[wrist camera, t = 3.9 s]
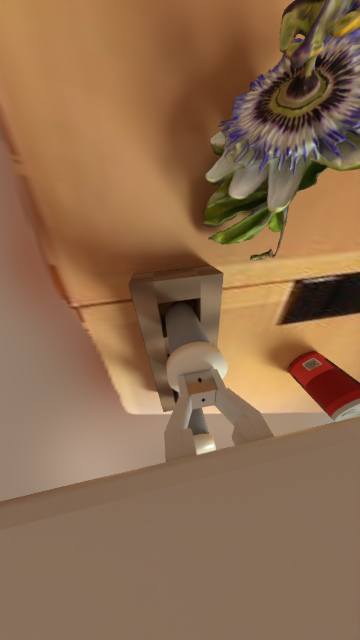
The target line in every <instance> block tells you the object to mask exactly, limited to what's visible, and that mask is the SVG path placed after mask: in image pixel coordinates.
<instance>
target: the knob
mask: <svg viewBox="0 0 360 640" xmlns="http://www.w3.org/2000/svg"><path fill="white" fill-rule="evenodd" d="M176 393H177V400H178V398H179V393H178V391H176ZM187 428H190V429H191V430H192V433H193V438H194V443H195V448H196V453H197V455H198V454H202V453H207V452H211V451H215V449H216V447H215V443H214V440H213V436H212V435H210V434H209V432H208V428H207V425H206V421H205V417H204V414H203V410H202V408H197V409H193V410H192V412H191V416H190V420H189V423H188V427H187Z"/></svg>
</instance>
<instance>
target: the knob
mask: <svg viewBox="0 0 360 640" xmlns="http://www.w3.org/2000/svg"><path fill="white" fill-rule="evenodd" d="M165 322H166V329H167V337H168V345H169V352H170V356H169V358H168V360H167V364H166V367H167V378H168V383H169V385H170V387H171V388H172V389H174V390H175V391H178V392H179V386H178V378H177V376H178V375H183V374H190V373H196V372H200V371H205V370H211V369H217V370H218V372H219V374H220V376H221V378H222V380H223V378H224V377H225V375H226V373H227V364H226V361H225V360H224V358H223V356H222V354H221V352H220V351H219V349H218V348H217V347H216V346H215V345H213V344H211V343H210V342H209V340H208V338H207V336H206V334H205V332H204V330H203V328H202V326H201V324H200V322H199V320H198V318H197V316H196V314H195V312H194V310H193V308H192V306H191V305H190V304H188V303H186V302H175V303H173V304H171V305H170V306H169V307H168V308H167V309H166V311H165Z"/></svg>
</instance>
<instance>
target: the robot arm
mask: <svg viewBox="0 0 360 640" xmlns="http://www.w3.org/2000/svg"><path fill="white" fill-rule="evenodd" d="M177 378H178V386H179V393H180V397H179V398H178V400H177V403H176V405H175V408H174V410H173V413H172V415H171V417H170V420H169V423H168V425H167V427H166V430H165V432H164V437H165V457H166V462H165V463H160V464H156V465H152V466H148V467H143V468H139V469H135V470H131V471H127V472H122V473H118V474H114V475H110V476H105V477H101V478H97V479H93V480H88V481H84V482H80V483H76V484H72V485H68V486H63V487H59V488H55V489H51V490H46V491H42V492H38V493H34V494H30V495H26V496H21V497H17V498H13V499H9V500H4V501H0V640H360V416H359V417H354V418H350V419H346V420H342V421H337V422H333V423H330V424H325V425H321V426H316V427H312V428H308V429H304V430H299V431H296V432H291V433H287V434H283V435H278V436H274V435H273V434H272V432H271V430H270V429H269V427H268V425H267V423H266V422H265V420H264V419H263V417H262V415H261V413H260V412H259V411H258V410H256V409H255V408H254V407H252V406H251V405H250V404H249V403H247V402H246V401H245V400H243V399H242V398H241V397H239V396H238V395H237V394H235V393H234V392H233V391H231V390H230V389H229V388H226V387H225V385H224V383H223V381H222V378H221V376H220V374H219V372H218V370H217V369H211V370H205V371H200V372H196V373H190V374H183V375H178V376H177ZM213 405H215V406H216V407H217V408H218V410H219V411H220V412H221V413H222V414H224V416H225V417H226V418H227V419H228V420H229V421H230V422H231V423H232V424H233V425H234V426H235V427H234V430H233V434H232V440H233V442H234V445H235V446H232V447H228V448H223V449H220V450H215V451H211V452H207V453H202V454H198V455H197V453H196V448H195V443H194V438H193V433H192V430H191V429H190V428H187V427H188V423H189V420H190V416H191V412H192V410H193V409H197V408H202V407H207V406H213Z"/></svg>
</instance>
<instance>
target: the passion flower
mask: <svg viewBox="0 0 360 640" xmlns="http://www.w3.org/2000/svg"><path fill="white" fill-rule="evenodd" d="M297 34H302V35H304V36H305V38H304V40H302V39H300V38H297V39H295V37H296V35H297ZM280 51H281V52H283V53H284V55H283V57H282V59H281V60H280V62H279V63H278V65H276V66H275V67H274V68H273V70H269V71H268V72H267V74H266V75H263V74H261V75H260V76H258V77H257V79H256V80H255V82H251V83H250V91H249V93H247V94H246V93H245V94H241V95H238V96H237V97H236V98H235V99H234V101H233V109H232V116H231V120H227V121H221V122H220V123H222V125H218V127H221V126H224V129H223V130H221V131H220V132H218V133H217V134H216V135H214V136H213V137H212V138H211V141H210V143H211V147H212V149H213V151H214V153H215V154H217V155H221V158H220V159H219V160H217V162H216V163H215V165H214V166H213V167H212V168H211V169H210V170H209V171H208V172H207V173H206V176H205V178H206V180H207V181H208V182H210V183H212V184H214V185H219V186H220V187H219V188H218V189H217V190H216V191H215V192H214V193H213V194H212V195H211V197H210V199H209V201H208V203H207V209H206V210H205V212H204V218H205V220H204V223H203V225H208V226H211V227H212V226H219V225H222V224H223V223H224V222H226V221H228V220H231V219H233V218H235V217H236V216H237V214H239V213H241V212H250V213H251V215H249V216H248V217H247V218H245V219H243V220H242V221H240V222H238V223H237V224H235V225H233V226H232V227H231V228H228V229H227V230H224V231H220V232H218V233H217V234H215V235H213V236H212V237H209V238H208V239H209V240H210V239H212V240H214V241H216V242H218V243H221V244H232V243H240V242H242V241H246V240H249V239H252V238H253V237H254V236H255V235H257V234H258V233H259V232H260V231H261V230H262V229H263V228H264V227H265V226H266V225H267V224H268V223H269V222H270V223H269V229H270V230H272V231H273V232H280V231H281V236H280V240H279V242H278V247H277V251H276V253H275V254H274V255H273V252H272V250H271V249H270V250H269V251H268V252H265V253H262V254H260V255H252V256H251V257H250V260H252V261H255V260H259V259H265V258H267V257H271V258H274V257H275V256H276V254H277V252H278V250H279V246H280V243H281V240H282V236H283V231H284V227H285V226H286V220H287V213H288V206H289V204H290V203H291V201H292V200H293V198H294V197H295V195H296V193H297V192H298V191H301V190H305V189H307V188H309V187H311V186H313V185H315V184H316V183H317V177H318V175H319V174H320V173H321V172H323V171H324V170H325V169H327V168H328V167H329V168H332V169H335V170H338V171H347V170H355V169H360V0H295V1H293V2H292V3H291V4H290V5H289V6H288V7H287V8H286V9H285V10H284V13H283V15H282V23H281V28H280ZM225 123H227V124H225Z"/></svg>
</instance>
